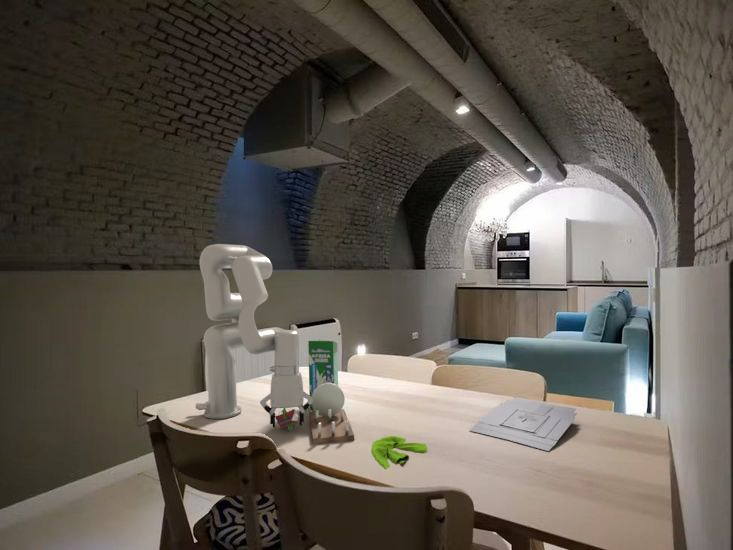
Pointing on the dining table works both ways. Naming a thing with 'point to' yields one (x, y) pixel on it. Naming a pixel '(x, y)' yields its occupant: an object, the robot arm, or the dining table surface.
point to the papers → (527, 422)
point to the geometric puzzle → (287, 418)
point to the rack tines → (332, 422)
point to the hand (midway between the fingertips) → (287, 425)
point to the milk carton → (322, 364)
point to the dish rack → (330, 429)
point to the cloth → (384, 451)
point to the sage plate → (328, 399)
